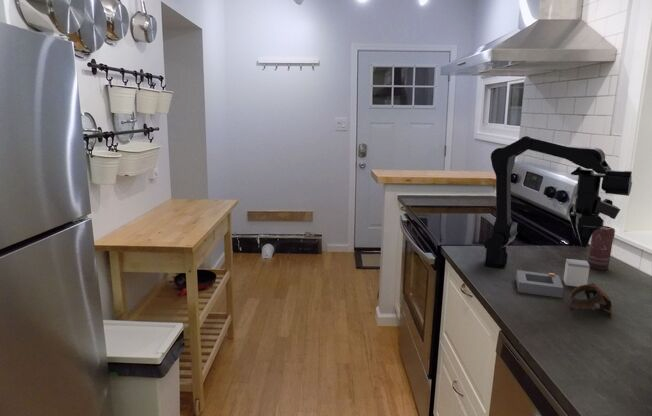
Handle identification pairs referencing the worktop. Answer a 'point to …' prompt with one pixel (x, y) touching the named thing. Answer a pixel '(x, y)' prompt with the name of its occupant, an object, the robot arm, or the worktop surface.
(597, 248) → the can
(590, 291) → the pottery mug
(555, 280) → the socket block
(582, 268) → the plug
